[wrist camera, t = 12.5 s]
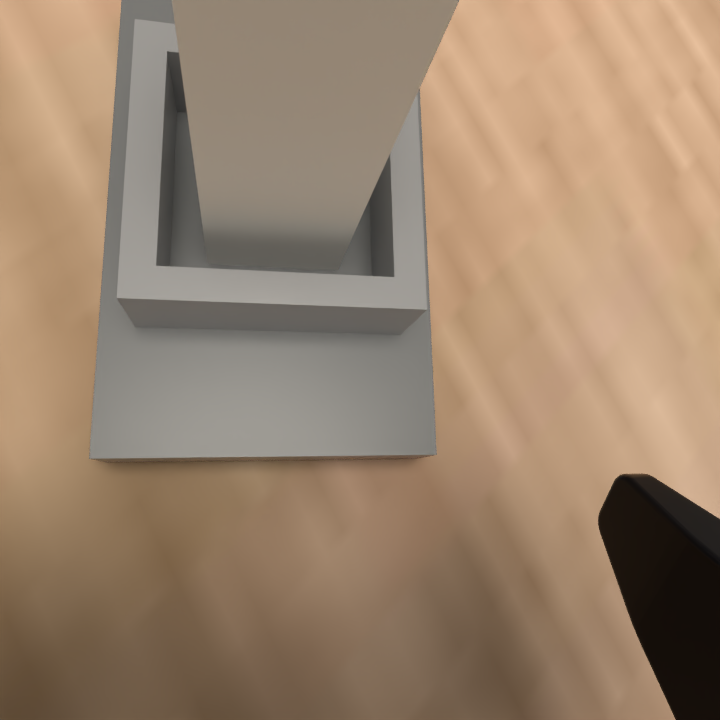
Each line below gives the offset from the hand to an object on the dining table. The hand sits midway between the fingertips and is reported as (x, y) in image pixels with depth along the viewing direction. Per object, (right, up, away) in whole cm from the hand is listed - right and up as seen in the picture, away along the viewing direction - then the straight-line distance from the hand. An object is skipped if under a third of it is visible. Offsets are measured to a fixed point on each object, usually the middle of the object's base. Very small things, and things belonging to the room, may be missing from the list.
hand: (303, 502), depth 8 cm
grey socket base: (-2, +6, +11) cm, 13 cm away
